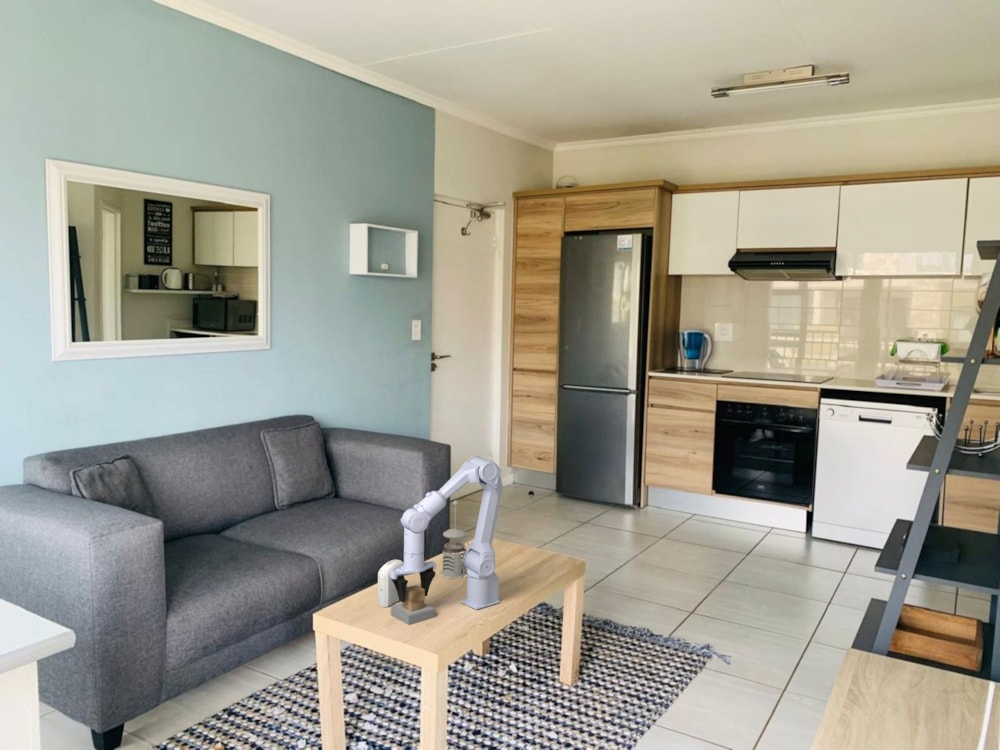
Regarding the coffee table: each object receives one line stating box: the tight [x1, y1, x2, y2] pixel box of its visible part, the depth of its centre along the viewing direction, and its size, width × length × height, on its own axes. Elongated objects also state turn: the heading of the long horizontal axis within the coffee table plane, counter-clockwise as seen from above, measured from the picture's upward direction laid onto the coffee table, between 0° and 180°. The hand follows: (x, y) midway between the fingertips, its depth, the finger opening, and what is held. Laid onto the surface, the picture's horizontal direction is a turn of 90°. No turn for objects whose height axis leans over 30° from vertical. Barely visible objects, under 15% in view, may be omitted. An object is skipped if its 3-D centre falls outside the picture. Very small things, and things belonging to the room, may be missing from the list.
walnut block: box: [402, 584, 426, 612], centre depth 212 cm, size 4×4×6 cm
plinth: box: [390, 602, 436, 626], centre depth 212 cm, size 9×9×2 cm
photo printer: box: [377, 559, 404, 608], centre depth 222 cm, size 10×4×12 cm, turn 156°
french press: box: [440, 500, 470, 578], centre depth 247 cm, size 10×12×25 cm
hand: (413, 598), depth 212 cm, fingers open, 7 cm apart
